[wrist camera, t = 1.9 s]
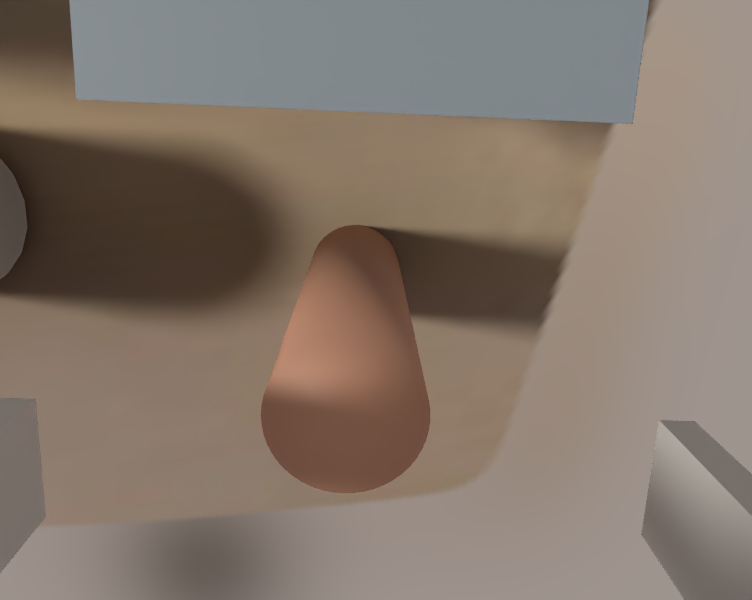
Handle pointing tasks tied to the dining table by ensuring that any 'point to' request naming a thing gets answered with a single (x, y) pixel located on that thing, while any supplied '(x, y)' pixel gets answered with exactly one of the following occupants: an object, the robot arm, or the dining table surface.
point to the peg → (348, 371)
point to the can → (10, 220)
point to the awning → (367, 55)
